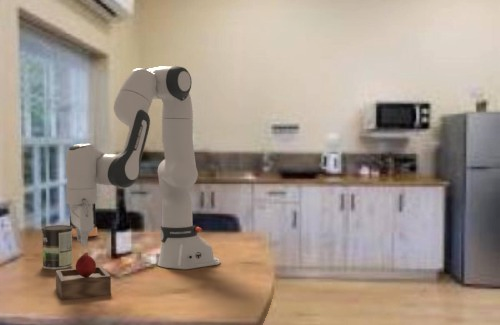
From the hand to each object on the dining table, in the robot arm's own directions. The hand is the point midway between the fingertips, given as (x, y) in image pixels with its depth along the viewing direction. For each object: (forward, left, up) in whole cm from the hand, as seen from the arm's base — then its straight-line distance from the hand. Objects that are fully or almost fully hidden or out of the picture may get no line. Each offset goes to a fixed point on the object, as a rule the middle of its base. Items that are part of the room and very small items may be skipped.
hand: (82, 243), depth 176 cm
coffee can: (+3, -38, -15) cm, 41 cm away
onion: (-1, +1, -11) cm, 11 cm away
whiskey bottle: (-15, -99, -15) cm, 101 cm away
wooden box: (0, 0, -15) cm, 15 cm away
